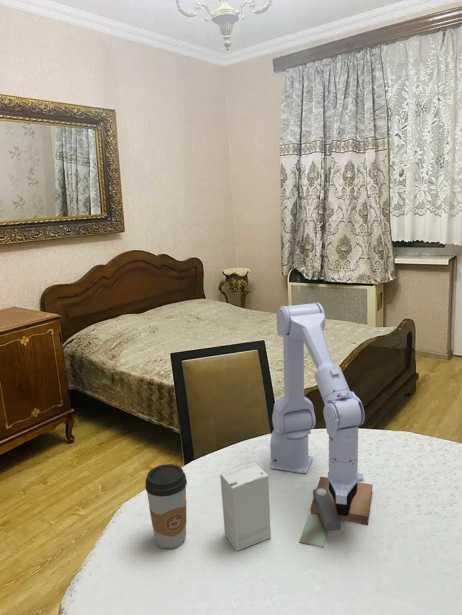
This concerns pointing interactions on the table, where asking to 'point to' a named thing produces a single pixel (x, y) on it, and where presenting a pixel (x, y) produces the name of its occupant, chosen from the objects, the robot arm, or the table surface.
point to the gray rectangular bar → (327, 510)
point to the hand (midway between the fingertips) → (342, 514)
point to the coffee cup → (167, 504)
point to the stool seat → (358, 513)
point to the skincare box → (246, 505)
